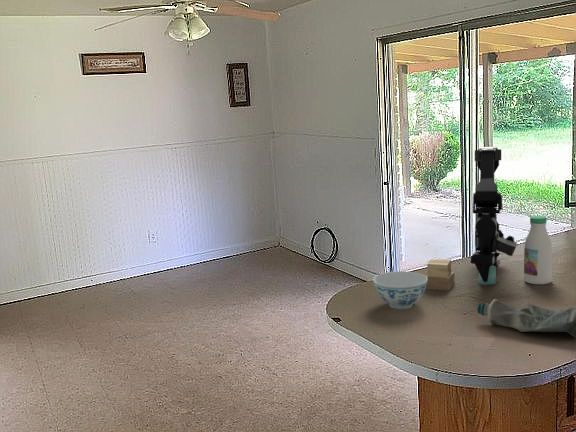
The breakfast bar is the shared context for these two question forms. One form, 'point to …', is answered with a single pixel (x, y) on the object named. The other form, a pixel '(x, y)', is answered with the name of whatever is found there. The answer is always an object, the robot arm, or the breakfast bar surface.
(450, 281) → the base block
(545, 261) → the milk bottle
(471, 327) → the breakfast bar surface
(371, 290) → the breakfast bar surface
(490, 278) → the teal cylinder
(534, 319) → the crushed plastic bottle
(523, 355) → the breakfast bar surface
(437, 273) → the top block
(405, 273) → the chinaware
